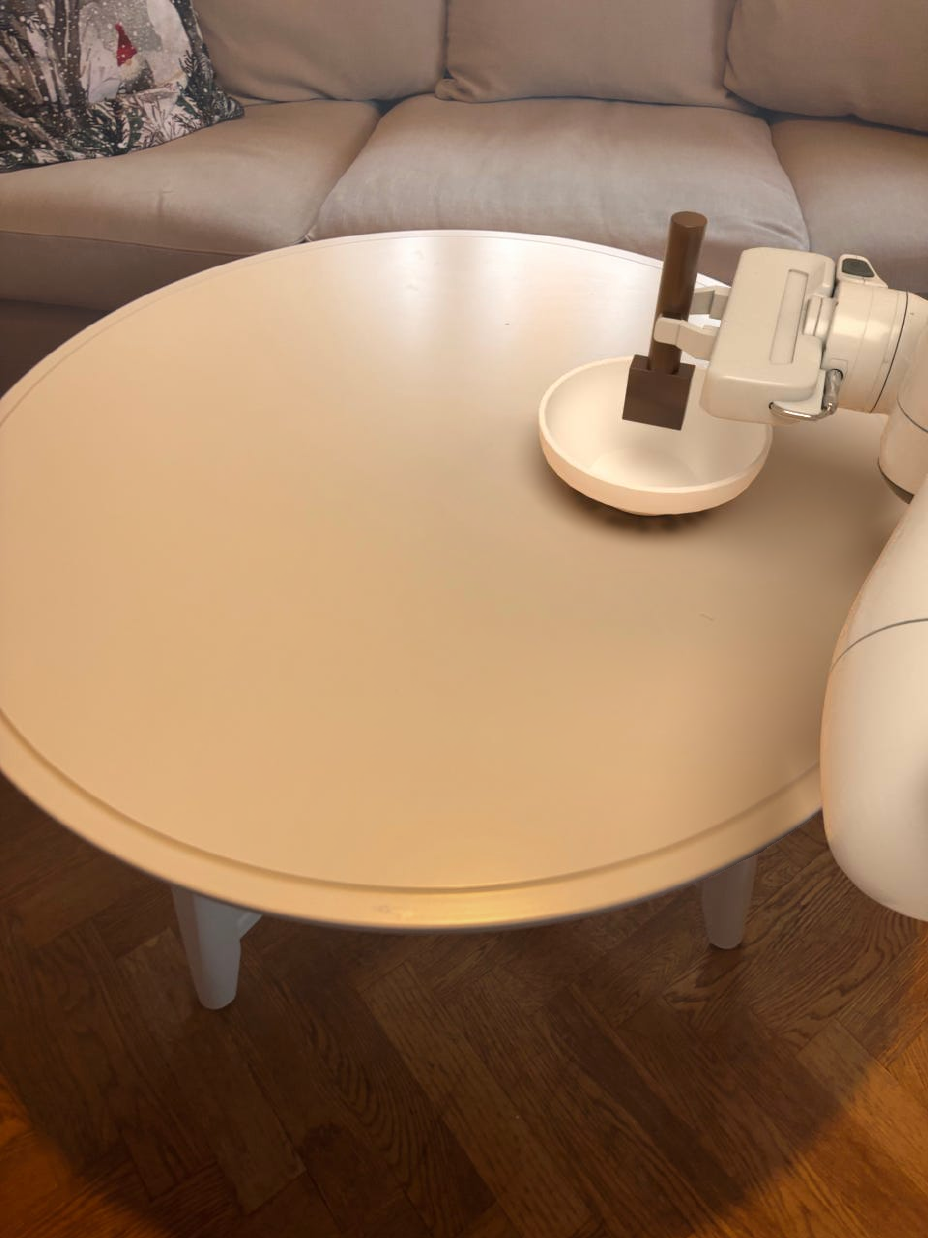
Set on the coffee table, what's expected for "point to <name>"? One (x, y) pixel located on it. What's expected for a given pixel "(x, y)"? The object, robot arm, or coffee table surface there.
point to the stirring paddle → (661, 376)
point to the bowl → (645, 446)
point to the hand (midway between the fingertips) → (661, 312)
